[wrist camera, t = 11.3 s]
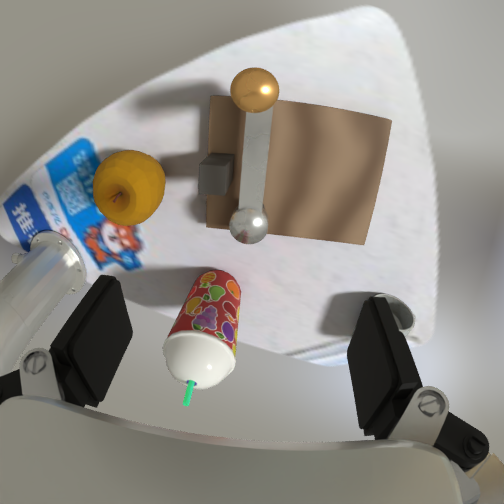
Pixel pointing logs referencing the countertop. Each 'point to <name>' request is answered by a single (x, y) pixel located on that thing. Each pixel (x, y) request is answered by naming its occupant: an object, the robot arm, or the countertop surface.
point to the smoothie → (205, 333)
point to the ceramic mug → (400, 313)
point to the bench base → (300, 169)
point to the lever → (253, 151)
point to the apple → (128, 187)
